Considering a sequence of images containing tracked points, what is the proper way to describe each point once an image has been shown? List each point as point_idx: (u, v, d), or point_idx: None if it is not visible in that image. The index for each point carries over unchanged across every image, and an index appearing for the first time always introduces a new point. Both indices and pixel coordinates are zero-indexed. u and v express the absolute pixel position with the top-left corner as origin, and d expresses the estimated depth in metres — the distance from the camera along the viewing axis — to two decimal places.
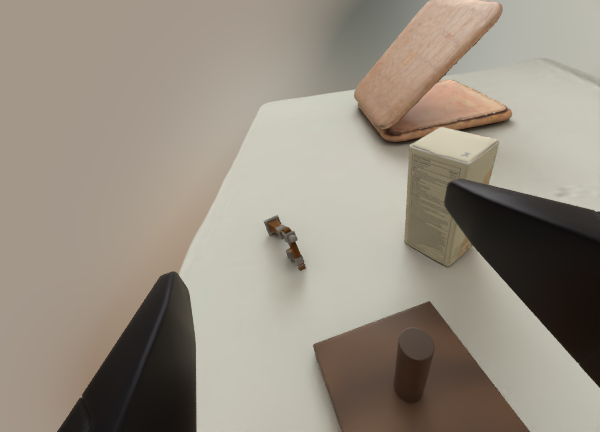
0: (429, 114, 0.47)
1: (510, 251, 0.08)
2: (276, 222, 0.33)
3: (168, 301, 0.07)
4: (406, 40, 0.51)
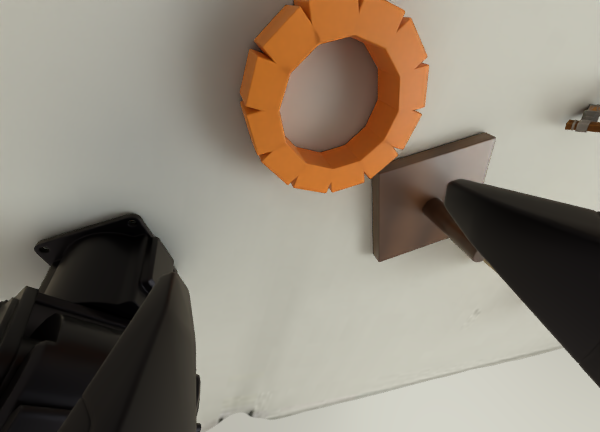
0: None
1: (510, 251, 0.08)
2: None
3: (168, 301, 0.07)
4: None
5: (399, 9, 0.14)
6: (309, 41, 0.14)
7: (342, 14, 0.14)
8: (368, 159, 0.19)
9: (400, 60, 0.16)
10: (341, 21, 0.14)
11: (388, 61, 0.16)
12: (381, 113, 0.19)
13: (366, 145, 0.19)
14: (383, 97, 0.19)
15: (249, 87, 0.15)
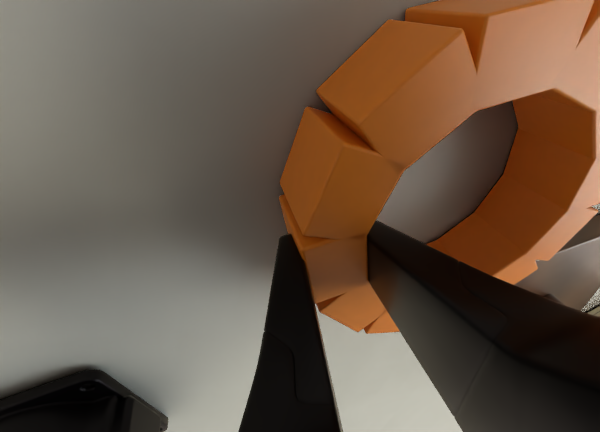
0: None
1: (391, 294, 0.08)
2: None
3: None
4: None
5: None
6: (460, 106, 0.06)
7: (546, 46, 0.06)
8: None
9: None
10: (539, 61, 0.06)
11: (582, 131, 0.08)
12: (516, 202, 0.11)
13: (486, 254, 0.11)
14: (522, 176, 0.11)
15: (314, 201, 0.07)
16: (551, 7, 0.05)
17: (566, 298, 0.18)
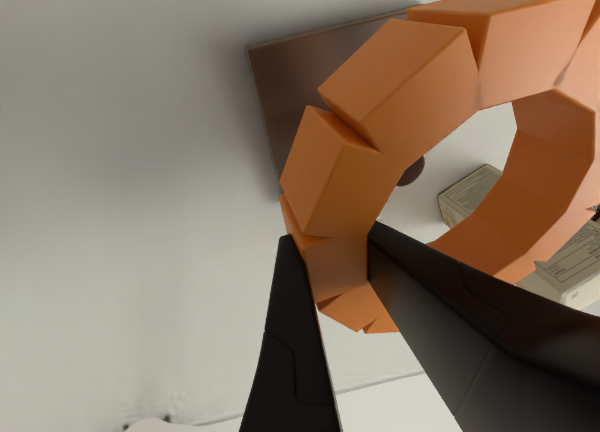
0: None
1: (391, 294, 0.08)
2: None
3: None
4: None
5: None
6: (461, 106, 0.06)
7: (547, 46, 0.06)
8: None
9: None
10: (540, 62, 0.06)
11: (581, 132, 0.08)
12: (514, 202, 0.11)
13: (485, 255, 0.11)
14: (521, 177, 0.11)
15: (315, 200, 0.07)
16: (553, 8, 0.05)
17: None
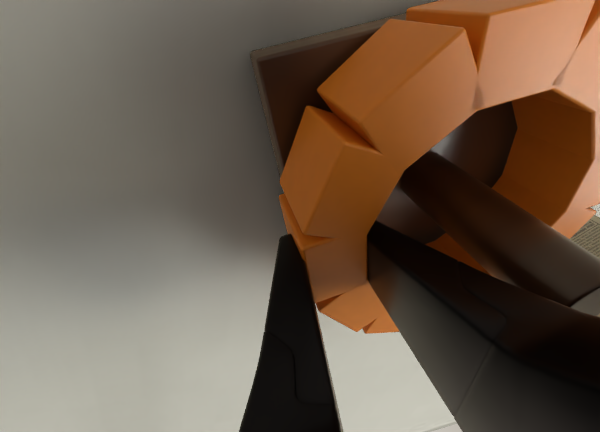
0: None
1: (391, 294, 0.08)
2: None
3: None
4: None
5: None
6: (461, 106, 0.06)
7: (547, 46, 0.06)
8: None
9: None
10: (539, 61, 0.06)
11: (581, 131, 0.08)
12: (514, 202, 0.11)
13: None
14: (521, 176, 0.11)
15: (315, 200, 0.07)
16: (552, 7, 0.05)
17: (472, 174, 0.12)
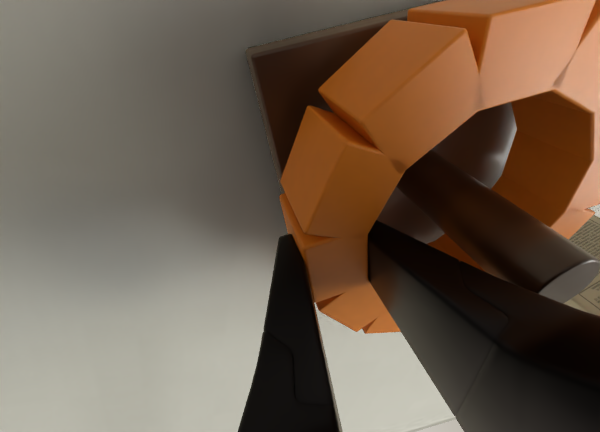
0: None
1: (392, 294, 0.08)
2: None
3: None
4: None
5: None
6: (462, 106, 0.06)
7: (547, 47, 0.06)
8: None
9: None
10: (540, 63, 0.06)
11: (581, 132, 0.08)
12: (514, 203, 0.11)
13: None
14: (520, 177, 0.11)
15: (316, 199, 0.07)
16: (553, 9, 0.05)
17: (461, 168, 0.12)
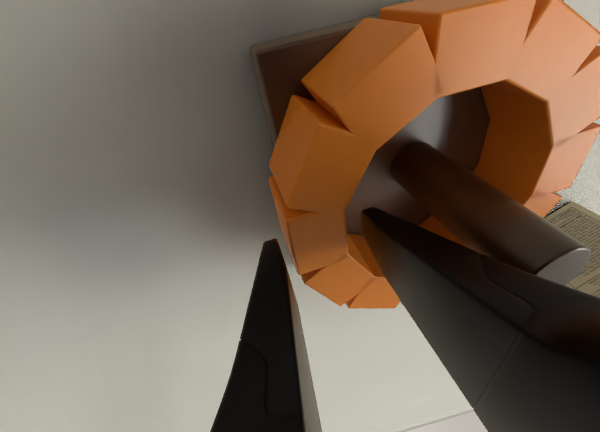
0: None
1: (409, 288, 0.08)
2: None
3: (284, 262, 0.08)
4: None
5: (596, 31, 0.07)
6: (423, 93, 0.07)
7: (496, 41, 0.07)
8: None
9: (563, 120, 0.09)
10: (490, 55, 0.07)
11: (540, 120, 0.09)
12: None
13: None
14: (494, 164, 0.12)
15: (296, 176, 0.07)
16: (497, 8, 0.06)
17: (460, 163, 0.12)
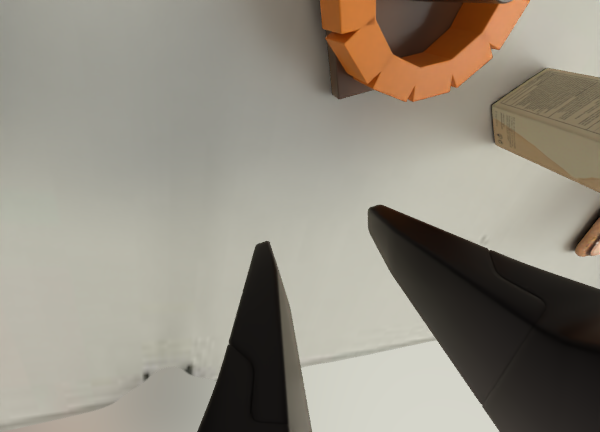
0: None
1: (418, 285, 0.08)
2: None
3: (276, 265, 0.08)
4: None
5: None
6: None
7: None
8: (461, 59, 0.16)
9: None
10: None
11: None
12: (476, 4, 0.16)
13: (456, 44, 0.16)
14: None
15: None
16: None
17: None
